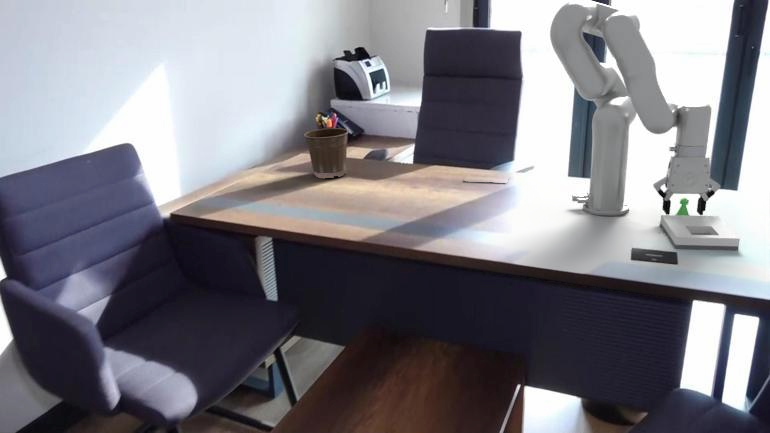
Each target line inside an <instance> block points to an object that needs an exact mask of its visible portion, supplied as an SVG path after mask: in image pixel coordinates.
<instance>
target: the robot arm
mask: <svg viewBox="0 0 770 433" xmlns="http://www.w3.org/2000/svg"><path fill="white" fill-rule="evenodd" d="M640 28H641V24H640V19H639V18H638V16H637V15H636V14H635V13H634V12H633V11H632V12H631V11H629V10H625V9H621V8H617V7H614V6H610V5H607V4H604V3H600V2H597V1H593V0H572V1H569V2H567V3H566V4H564V5H562V6H561V7H560V9H559V10H558V11H557V12H556V14H555V15H554V17H553V19H552V22H551V26H550V31H549V36H550V38H549V39H550V43H551V46H552V48H553V51H554V53H555V54H556V56H557V58H558V60H559V61H560V62H561V64H562V66H563V68H564V70H565V72H566V74H567V75H568V77H569V79H570V81H571V82H572V84H573V85H574V87H575V89H576V91H577V93H578V94H579V96H580V97H581V98H582V99H584V100H586V101H592V102H593V103H594V104H595V106H596V110H595V111H594V113H593V116H592V120H591V121H592V122H591V130H592V132H591V133H592V134H591V136H592V143H591V144H592V145H591V146H592V147H591V162H590V163H591V166H590V177H589V183H590V184H589V190H587V192H586V193H583V195H582V194H581V195H580V194H572V197H571V199H572V202H577V204H582V209H583V210H584V211H585V212H587V213H590V214H592V215H598V216H605V217H606V216H607V217H608V216H611V217H613V216H620V215H624V214H627V213H628V212H630V211H629V209H630V206H629V204H627V203H626V202H625V192H626V191H625V190H626V182H627V181H626V178H627V169H628V155H629V140H630V139H629V137H630V136H629V134H630V132H629V131H630V126H631V124H632V123H633V122H634V121H635V119H636V116H638V118H639V119H640V122H641V123H642V125H643V127H644V128H645V129H646V130H647V131H649V132H650V133H652V134H654V135H662V134H663V135H664V134H666V133H668V132H669V131H670V130H671V129H673V128H676V134H675V136H676V137H675V142H674V144H673V145H672V146H671V145H670V146H669V147H668V150H669V151H668V152H673V153H672V154H671V156H670V158H669V162H668V165H667V169H666V170H667V171H666V176H664V177H663V178H661V179H660V180H658V181H655V182H654V183H653V184H652V186H653V188H654V189H655V191H656V192H657V194H658V195H659V196H660V197H661V198H662V207H661V208H662V211H663V213H664V214H665V215H671V213H670V212H671V206H672V205H671V204H672V201H671V200H670V199H671V198H672V197H673V195H674V194H675V195H677V194H679V195H682V194H684V195H687V194H688V195H691V194H692V195H699V198H698V199H697V206H696V212H697V214H699V216H704V212H706V207H707V201H709V199H710V198H711V197H714V195H715V193H717V191H719V189H721V184H719V183H718V182H716V181H715V180H714V179H712V178H711V162H710V160H711V159H710V155H707V150H708V141H709V133H710V126H711V118H712V106H711V105H710V104H708V103H704V102H682V101H680V102H679V101H676V100H675V101H673V100H667V99H666V98H665V96H664V94H663V92H662V90H661V87H660V85H659V82H658V79H657V78H658V77H657V68H656V63H655V59H654V56H652V53H651V51H650V49H649V47H648V45H647V44H646V41H645V39H644V37H643V36H642V34H641V31H640ZM584 33H586V34H589V35H593V36H596V37H600V38H602V39H603V41H604V43H605V46H606V47H607V49H608V51H609V53H610V54H611V56H612V58H613V60H614V62H615V64H616V67H617V68H618V70H619V72H620V74H621V76H622V78H621V77H620V75H619V74H618V72H617V70H615V68H613V67H612V66H611V65H610V64H607V63H604V62H600V61H599V60H598V58H597V56H596V54H595V53H594V51H593V50H592V47H591V46H590V45H589V44H588V42H587V41H586V39H585V37H584ZM622 79H623V81H622ZM662 186H665V188H666V190H665V191H664V190H662ZM710 186H711V188H710Z"/></svg>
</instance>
